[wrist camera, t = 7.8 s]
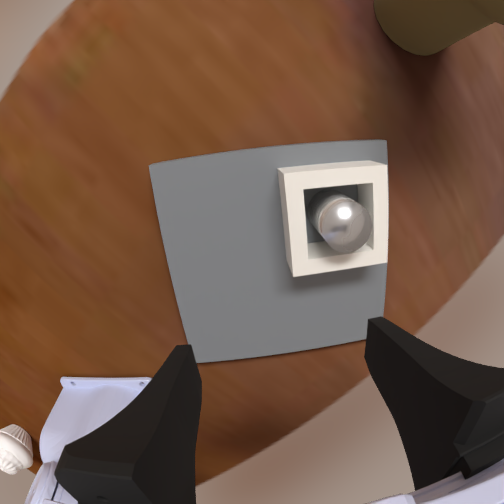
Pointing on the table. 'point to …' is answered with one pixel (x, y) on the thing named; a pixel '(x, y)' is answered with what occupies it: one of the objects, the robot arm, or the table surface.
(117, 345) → the table surface
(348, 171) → the collar
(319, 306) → the board
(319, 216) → the post
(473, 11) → the cork
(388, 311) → the table surface
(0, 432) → the white rounded jar shape
